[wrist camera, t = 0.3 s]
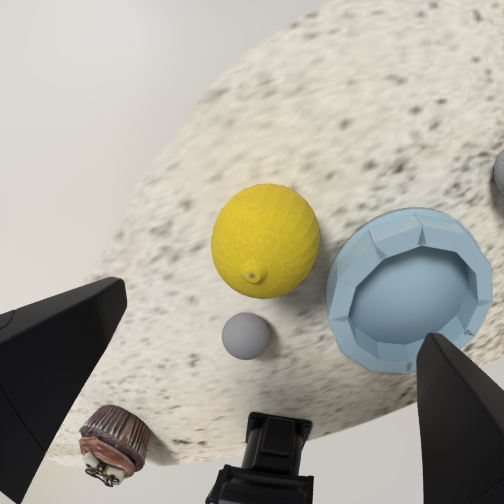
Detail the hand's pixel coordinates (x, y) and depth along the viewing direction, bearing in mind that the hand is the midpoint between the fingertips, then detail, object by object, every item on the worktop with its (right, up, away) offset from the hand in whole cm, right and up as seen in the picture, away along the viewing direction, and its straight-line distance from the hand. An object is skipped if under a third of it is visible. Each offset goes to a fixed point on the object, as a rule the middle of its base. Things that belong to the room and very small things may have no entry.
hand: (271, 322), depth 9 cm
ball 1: (-1, -3, +16) cm, 16 cm away
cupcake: (-18, -21, +29) cm, 40 cm away
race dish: (+11, -1, +12) cm, 16 cm away
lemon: (+1, +4, +12) cm, 13 cm away
